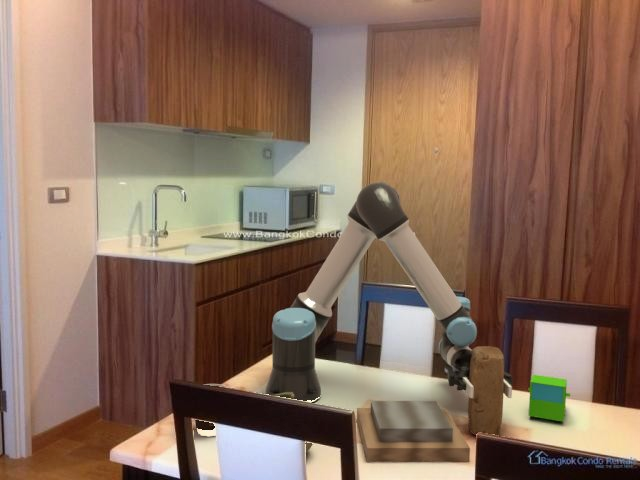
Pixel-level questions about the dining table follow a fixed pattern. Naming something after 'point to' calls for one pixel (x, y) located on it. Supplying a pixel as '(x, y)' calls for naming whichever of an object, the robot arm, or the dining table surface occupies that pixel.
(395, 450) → the tower base
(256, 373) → the dining table surface
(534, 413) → the toy car
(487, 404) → the block
